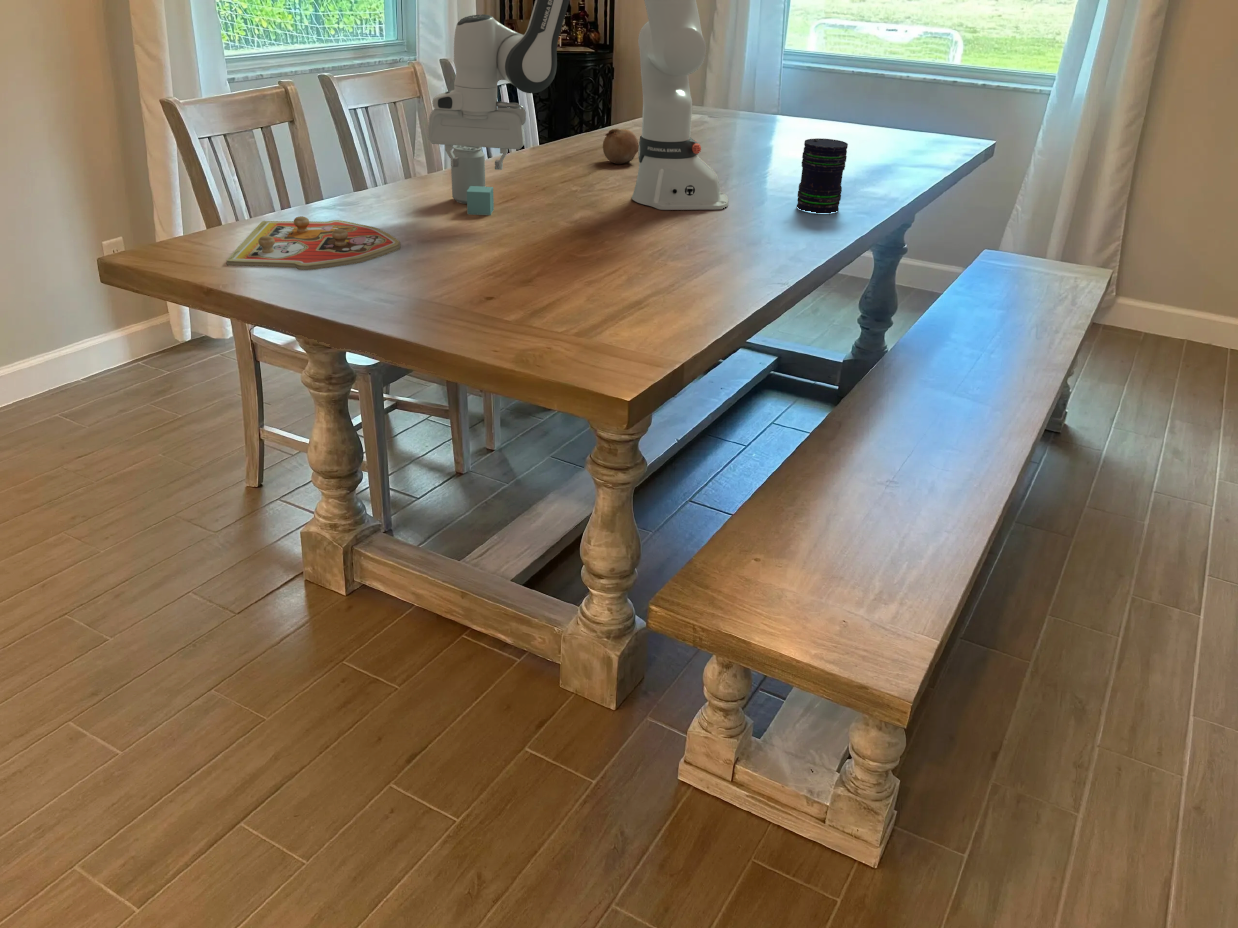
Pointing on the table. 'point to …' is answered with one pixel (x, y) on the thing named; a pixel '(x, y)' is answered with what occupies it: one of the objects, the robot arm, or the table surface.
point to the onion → (620, 146)
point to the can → (467, 171)
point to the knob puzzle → (312, 244)
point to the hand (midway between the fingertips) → (476, 167)
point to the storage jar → (822, 175)
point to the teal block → (480, 200)
